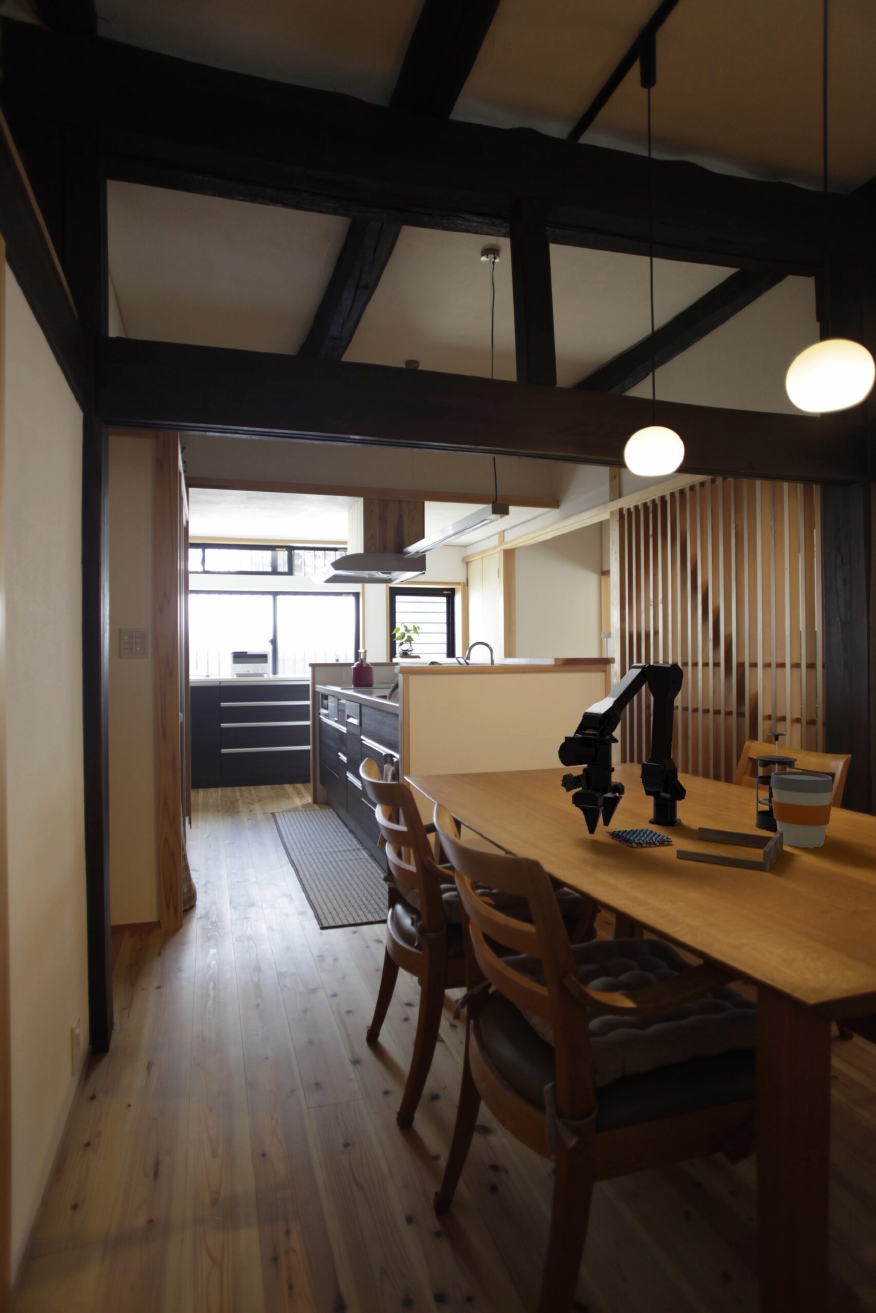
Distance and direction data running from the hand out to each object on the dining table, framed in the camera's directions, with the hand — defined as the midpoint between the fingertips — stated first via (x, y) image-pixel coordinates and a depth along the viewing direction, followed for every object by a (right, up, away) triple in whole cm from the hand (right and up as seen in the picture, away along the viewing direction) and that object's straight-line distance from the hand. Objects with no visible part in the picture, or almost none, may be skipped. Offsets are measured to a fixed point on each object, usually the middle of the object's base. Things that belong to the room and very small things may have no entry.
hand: (599, 830), depth 169 cm
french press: (+45, -1, +8) cm, 46 cm away
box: (+24, -1, -16) cm, 28 cm away
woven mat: (+8, -2, -5) cm, 10 cm away
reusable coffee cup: (+44, -1, -7) cm, 44 cm away
